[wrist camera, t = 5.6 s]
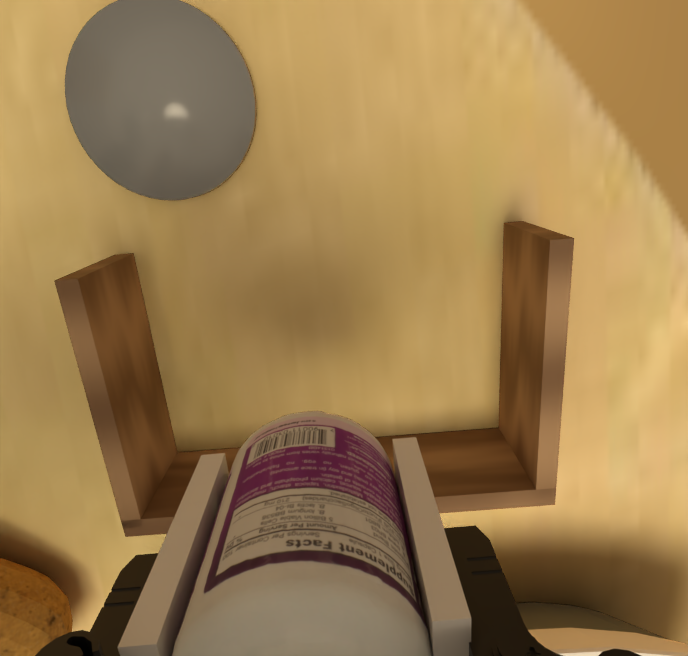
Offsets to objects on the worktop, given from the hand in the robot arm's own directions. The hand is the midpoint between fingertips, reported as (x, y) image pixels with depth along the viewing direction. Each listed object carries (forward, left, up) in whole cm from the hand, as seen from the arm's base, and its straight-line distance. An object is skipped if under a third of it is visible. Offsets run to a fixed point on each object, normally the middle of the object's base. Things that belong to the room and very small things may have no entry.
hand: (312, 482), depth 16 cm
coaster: (-13, +6, -13) cm, 20 cm away
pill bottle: (0, 0, -1) cm, 1 cm away
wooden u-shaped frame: (+1, 0, -13) cm, 13 cm away
